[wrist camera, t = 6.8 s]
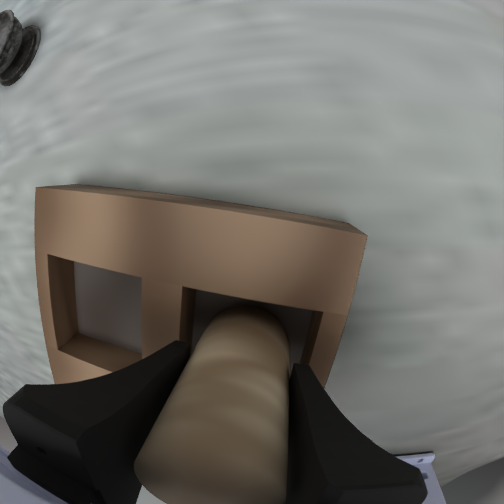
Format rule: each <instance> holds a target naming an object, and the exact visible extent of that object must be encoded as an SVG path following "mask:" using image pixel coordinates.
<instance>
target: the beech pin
mask: <svg viewBox="0 0 504 504" xmlns="http://www.w3.org/2000/svg"><path fill="white" fill-rule="evenodd" d="M289 381H290V343H289V337H288V334H287V331H286V329H285V328H284V326H283V325H282V323H281V322H280V321H279V320H278V319H277V318H276V317H274V316H273V315H272V314H270V313H268V312H267V311H265V310H262V309H259V308H256V307H251V306H236V307H231V308H228V309H225V310H223V311H221V312H219V313H218V314H216V315H215V316H214V317H213V318H212V319H211V320H210V322H209V323H208V325H207V327H206V329H205V330H204V332H203V334H202V336H201V338H200V340H199V342H198V343H197V345H196V347H195V349H194V351H193V353H192V355H191V356H190V358H189V360H188V362H187V364H186V366H185V368H184V369H183V371H182V373H181V375H180V377H179V379H178V381H177V383H176V384H175V386H174V388H173V390H172V392H171V394H170V396H169V397H168V399H167V401H166V403H165V405H164V407H163V409H162V411H161V412H160V414H159V416H158V418H157V420H156V422H155V424H154V426H153V427H152V429H151V431H150V433H149V435H148V437H147V439H146V441H145V443H144V444H143V446H142V448H141V450H140V452H139V454H138V456H137V458H136V459H135V462H134V471H135V474H136V476H137V478H138V480H139V481H140V482H141V484H142V485H143V486H144V487H145V488H146V489H147V490H148V491H149V492H150V493H152V494H153V495H154V496H156V497H157V498H158V499H160V500H162V501H163V502H165V503H167V504H284V503H285V500H286V489H287V466H288V437H289Z"/></svg>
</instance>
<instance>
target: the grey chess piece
mask: <svg viewBox="0 0 504 504" xmlns="http://www.w3.org/2000/svg"><path fill="white" fill-rule="evenodd" d="M39 42H40V30H39V28H38V27H36V26H28V27H26V28H25V29H23V30H22V25H21V24H20V22H19V21H18V19H17V18H16V17H14V13H13V12H12V11H11V10H5V11H3V12H1V13H0V83H1V84H2V85H4V86H10V85H12V84H13V83H15V82H16V81H17V80H18V79H20V77H21V76H22V75H23V74H24V73H25V71H26V70H27V68H28V67H29V65H30V64H31V62H32V60H33V58H34V56H35V54H36V52H37V49H38V46H39Z"/></svg>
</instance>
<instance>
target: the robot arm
mask: <svg viewBox="0 0 504 504" xmlns="http://www.w3.org/2000/svg"><path fill="white" fill-rule="evenodd" d="M190 346H191V343H187V342H183V341H179V340H175V341H173V342H172V343H170V344H168V345H166V346H165V347H163V348H161V349H160V350H158V351H156V352H155V353H153V354H151V355H149V356H147V357H146V358H144V359H142V360H140V361H138V362H136V363H134V364H131V365H129V366H127V367H125V368H123V369H120V370H118V371H115V372H112V373H109V374H106V375H103V376H100V377H96V378H92V379H87V380H83V381H78V382H72V383H64V384H51V385H30V384H26V385H24V386H23V387H22V388H21V389H20V390H19V391H18V392H16V393H15V394H14V395H13V396H12V397H11V398H10V399H8V400H7V401H6V402H5V403H4V405H3V413H4V417H5V419H6V422H7V424H8V426H9V428H10V430H11V432H12V434H13V436H14V437H15V439H16V441H17V443H18V446H17V447H16V448H15V449H14V450H13V451H12V452H11V453H9V452H8V451H7V450H5V449H4V448H3V447H2V446H0V504H136V501H137V498H138V495H139V492H140V490H141V487H142V484H141V482H140V481H139V480H138V478H137V476H136V474H135V471H134V462H135V459H136V458H137V456H138V454H139V452H140V450H141V448H142V446H143V444H144V443H145V441H146V439H147V437H148V435H149V433H150V431H151V429H152V427H153V426H154V424H155V422H156V420H157V418H158V416H159V414H160V412H161V411H162V409H163V407H164V405H165V403H166V401H167V399H168V397H169V396H170V394H171V392H172V390H173V388H174V386H175V384H176V383H177V381H178V379H179V377H180V375H181V373H182V371H183V369H184V368H185V366H186V364H187V362H188V360H189V358H190ZM434 458H435V455H434V453H427V454H418V455H408V456H393V455H392V454H390V453H388V452H387V451H385V450H384V449H382V448H381V447H379V446H378V445H376V444H375V443H374V442H372V441H371V440H370V439H369V438H367V437H366V436H365V435H364V434H362V433H361V432H360V431H359V430H358V429H357V428H356V427H355V426H354V425H353V424H352V423H351V422H350V421H349V420H348V419H347V418H346V417H345V416H344V415H343V414H342V413H341V411H340V410H339V409H338V408H337V407H336V405H335V404H334V403H333V401H332V400H331V398H330V397H329V396H328V394H327V393H326V391H325V390H324V388H323V387H322V385H321V383H320V382H319V380H318V379H317V377H316V375H315V374H314V372H313V370H312V368H311V367H310V365H305V364H298V363H294V364H293V368H292V372H291V375H290V381H289V437H288V466H287V489H286V500H285V503H284V504H446V502H445V499H444V496H443V494H442V491H441V488H440V485H439V483H438V480H437V477H436V475H435V472H434V470H433V467H432V465H431V462H432V461H433V460H434Z"/></svg>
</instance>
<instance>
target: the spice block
mask: <svg viewBox="0 0 504 504" xmlns="http://www.w3.org/2000/svg"><path fill="white" fill-rule="evenodd" d="M367 236H368V235H366V234H364V233H363V232H361V231H360V230H358V229H357V228H355V227H353V226H352V225H350V224H349V223H344V222H339V221H334V220H329V219H323V218H318V217H313V216H307V215H302V214H296V213H290V212H284V211H278V210H273V209H267V208H260V207H254V206H248V205H241V204H235V203H228V202H222V201H215V200H208V199H201V198H193V197H186V196H179V195H171V194H163V193H155V192H146V191H138V190H129V189H120V188H110V187H100V186H90V185H78V184H74V185H59V186H45V187H36V194H35V260H36V275H37V287H38V296H39V305H40V312H41V319H42V325H43V331H44V337H45V342H46V347H47V352H48V357H49V362H50V366H51V370H52V374H53V378H54V382H55V384H64V383H72V382H78V381H83V380H87V379H92V378H96V377H100V376H103V375H106V374H109V373H112V372H115V371H118V370H120V369H123V368H125V367H127V366H129V365H131V364H134V363H136V362H138V361H140V360H142V359H144V358H146V357H147V356H149V355H151V354H153V353H155V352H156V351H158V350H160V349H161V348H163V347H165V346H166V345H168V344H170V343H172V342H173V341H175V340H179V341H183V342H187V343H191V346H190V356H191V355H192V353H193V351H194V349H195V347H196V345H197V343H198V342H199V340H200V338H201V336H202V334H203V332H204V330H205V329H206V327H207V325H208V323H209V322H210V320H211V319H212V318H213V317H214V316H215V315H216V314H218V313H219V312H221V311H223V310H225V309H228V308H231V307H236V306H251V307H256V308H259V309H262V310H265V311H267V312H268V313H270V314H272V315H273V316H274V317H276V318H277V319H278V320H279V321H280V322H281V323H282V325H283V326H284V328H285V329H286V331H287V334H288V337H289V343H290V375H291V372H292V368H293V364H294V363H298V364H305V365H310V367H311V368H312V370H313V372H314V374H315V375H316V377H317V379H318V380H319V382H320V383H321V385H322V387H323V388H324V387H325V385H326V382H327V379H328V376H329V373H330V370H331V368H332V365H333V362H334V359H335V356H336V352H337V349H338V346H339V343H340V340H341V337H342V333H343V330H344V327H345V323H346V320H347V316H348V313H349V309H350V306H351V302H352V298H353V295H354V291H355V287H356V283H357V279H358V275H359V271H360V267H361V263H362V258H363V254H364V250H365V245H366V240H367Z"/></svg>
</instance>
